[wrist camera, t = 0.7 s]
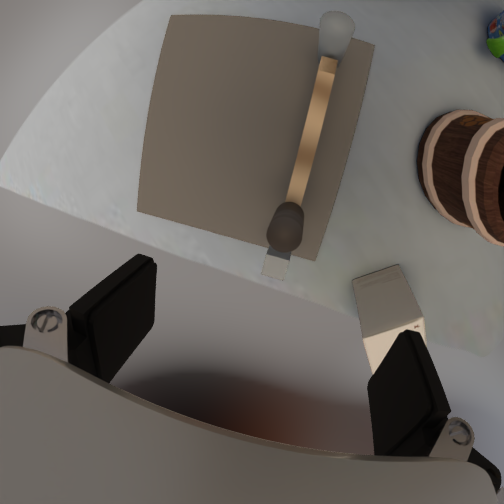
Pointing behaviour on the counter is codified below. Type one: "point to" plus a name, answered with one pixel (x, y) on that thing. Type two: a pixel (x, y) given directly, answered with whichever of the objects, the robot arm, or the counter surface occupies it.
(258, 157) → the taupe mat
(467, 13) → the counter surface
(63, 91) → the counter surface
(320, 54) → the gate frame
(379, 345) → the supplement box
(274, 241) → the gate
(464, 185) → the mug
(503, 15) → the snack cup
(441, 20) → the counter surface
